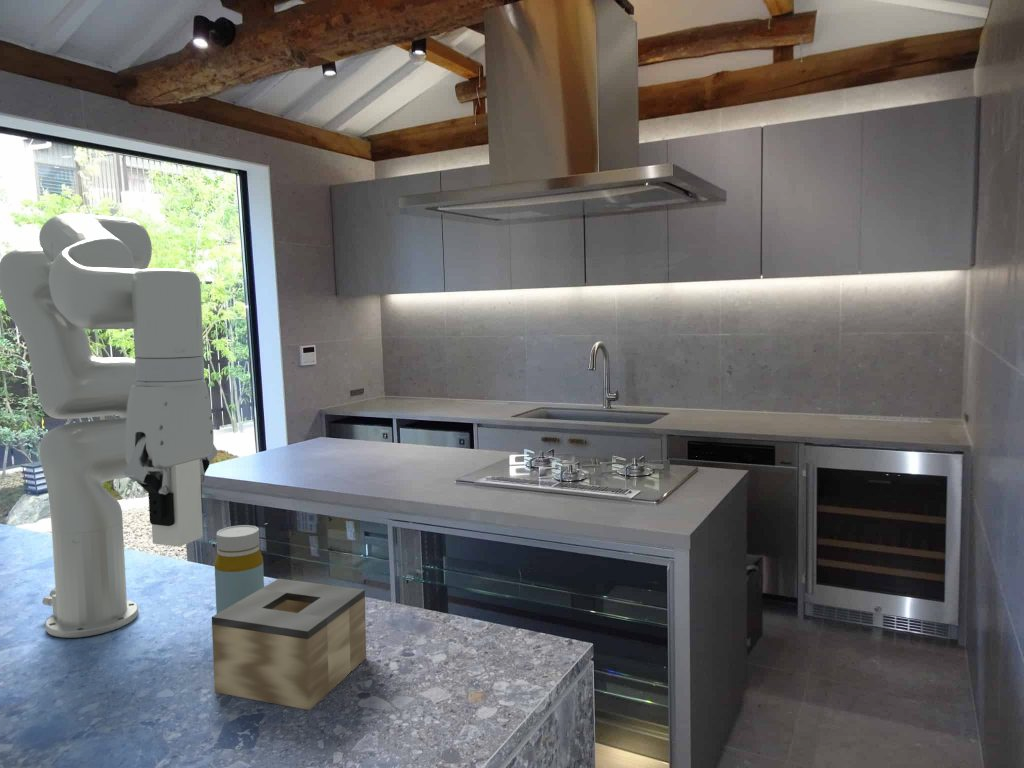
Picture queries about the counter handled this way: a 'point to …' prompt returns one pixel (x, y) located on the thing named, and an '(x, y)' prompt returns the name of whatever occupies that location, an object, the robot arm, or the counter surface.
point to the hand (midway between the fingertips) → (176, 517)
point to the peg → (182, 506)
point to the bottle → (237, 565)
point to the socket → (289, 642)
